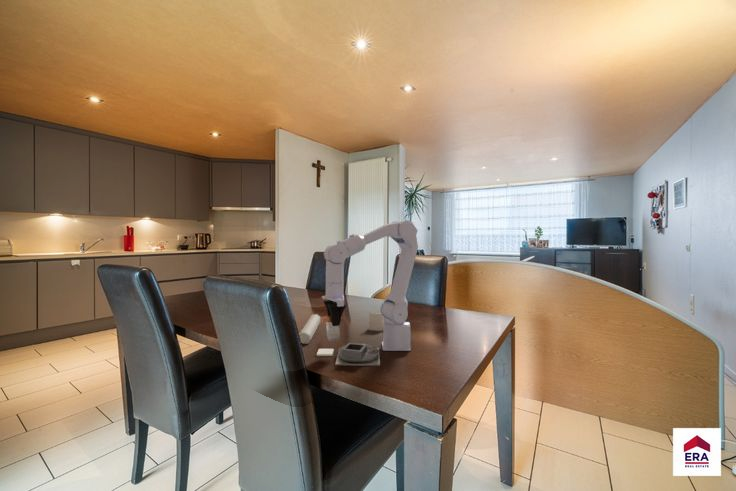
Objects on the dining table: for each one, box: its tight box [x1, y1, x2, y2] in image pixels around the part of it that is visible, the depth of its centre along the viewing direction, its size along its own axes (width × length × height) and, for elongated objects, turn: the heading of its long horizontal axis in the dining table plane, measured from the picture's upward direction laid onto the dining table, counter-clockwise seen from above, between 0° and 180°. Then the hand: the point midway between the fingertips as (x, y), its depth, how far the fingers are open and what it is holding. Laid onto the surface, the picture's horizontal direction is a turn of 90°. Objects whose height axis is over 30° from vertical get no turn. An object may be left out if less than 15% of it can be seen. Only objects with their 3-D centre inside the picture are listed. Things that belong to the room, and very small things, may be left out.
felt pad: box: [316, 348, 335, 357], centre depth 104 cm, size 5×5×1 cm
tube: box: [298, 313, 322, 345], centre depth 124 cm, size 5×5×25 cm
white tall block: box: [320, 315, 343, 342], centre depth 101 cm, size 6×3×8 cm, turn 112°
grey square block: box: [368, 312, 384, 332], centre depth 131 cm, size 3×7×7 cm, turn 77°
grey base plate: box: [337, 342, 380, 363], centre depth 101 cm, size 13×13×4 cm
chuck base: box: [335, 347, 381, 367], centre depth 101 cm, size 13×13×1 cm
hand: (334, 324), depth 102 cm, fingers closed on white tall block, 3 cm apart
